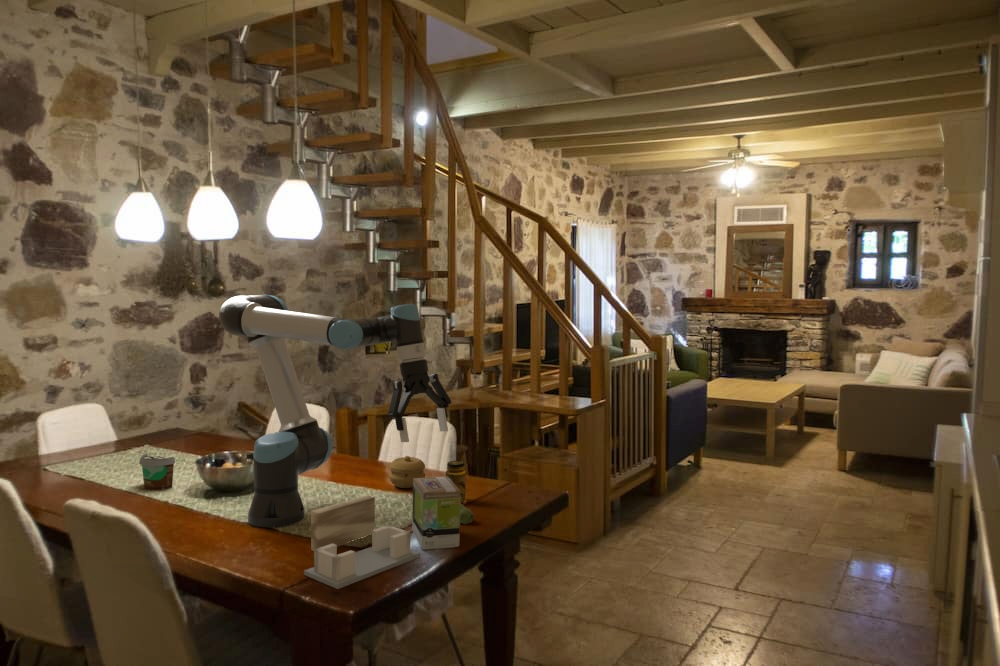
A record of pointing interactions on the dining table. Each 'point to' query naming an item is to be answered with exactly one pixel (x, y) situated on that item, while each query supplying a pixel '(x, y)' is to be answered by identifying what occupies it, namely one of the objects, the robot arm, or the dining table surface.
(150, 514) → the dining table surface
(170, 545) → the dining table surface
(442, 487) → the tea box
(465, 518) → the pear
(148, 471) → the food container
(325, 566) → the frame
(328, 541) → the slat
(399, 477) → the pot
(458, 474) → the condiment
